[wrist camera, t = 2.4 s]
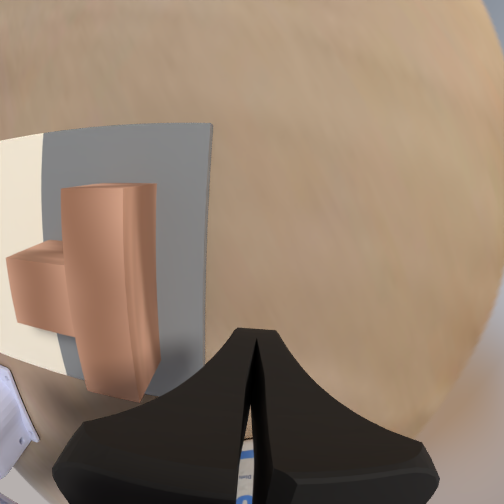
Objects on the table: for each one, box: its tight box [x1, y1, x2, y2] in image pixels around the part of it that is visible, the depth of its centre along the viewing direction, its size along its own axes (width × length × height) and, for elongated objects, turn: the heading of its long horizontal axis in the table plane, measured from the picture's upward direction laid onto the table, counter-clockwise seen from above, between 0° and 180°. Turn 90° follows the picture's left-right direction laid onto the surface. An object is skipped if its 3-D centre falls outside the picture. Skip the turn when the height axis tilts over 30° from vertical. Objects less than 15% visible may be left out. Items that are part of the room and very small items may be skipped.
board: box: [0, 123, 213, 397], centre depth 16 cm, size 16×20×1 cm
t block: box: [6, 183, 161, 403], centre depth 14 cm, size 7×10×4 cm
